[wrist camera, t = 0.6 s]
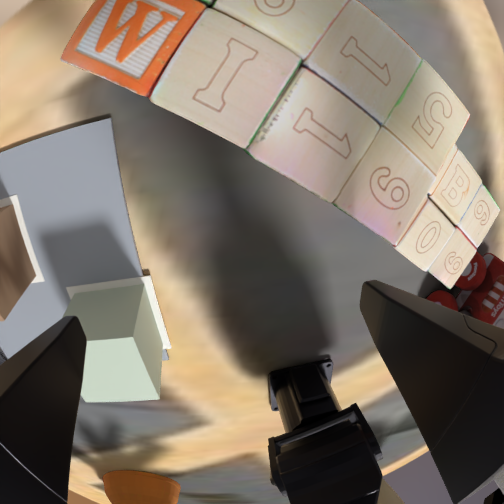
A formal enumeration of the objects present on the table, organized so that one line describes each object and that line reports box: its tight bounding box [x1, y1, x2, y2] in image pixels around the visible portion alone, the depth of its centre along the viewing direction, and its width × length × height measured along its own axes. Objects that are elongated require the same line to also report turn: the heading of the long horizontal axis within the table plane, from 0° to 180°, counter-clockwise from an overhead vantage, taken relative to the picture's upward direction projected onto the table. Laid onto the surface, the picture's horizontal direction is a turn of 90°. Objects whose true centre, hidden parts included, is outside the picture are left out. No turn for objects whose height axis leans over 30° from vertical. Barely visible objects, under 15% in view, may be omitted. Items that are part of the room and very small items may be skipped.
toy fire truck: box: [426, 251, 504, 329], centre depth 25 cm, size 7×12×10 cm, turn 151°
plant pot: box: [377, 479, 404, 504], centre depth 40 cm, size 15×15×16 cm
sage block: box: [62, 284, 163, 402], centre depth 21 cm, size 6×6×6 cm
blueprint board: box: [0, 118, 172, 360], centre depth 21 cm, size 20×19×1 cm
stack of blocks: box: [61, 0, 500, 289], centre depth 14 cm, size 21×6×12 cm, turn 58°
